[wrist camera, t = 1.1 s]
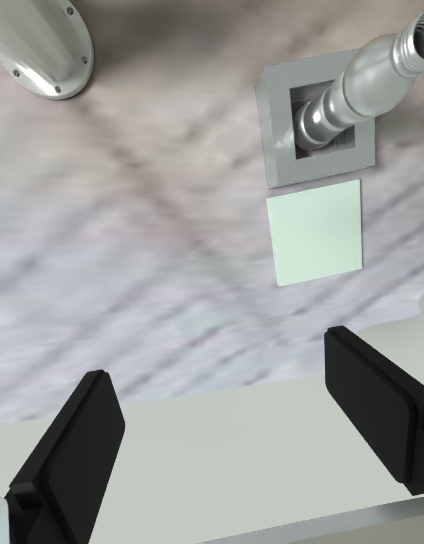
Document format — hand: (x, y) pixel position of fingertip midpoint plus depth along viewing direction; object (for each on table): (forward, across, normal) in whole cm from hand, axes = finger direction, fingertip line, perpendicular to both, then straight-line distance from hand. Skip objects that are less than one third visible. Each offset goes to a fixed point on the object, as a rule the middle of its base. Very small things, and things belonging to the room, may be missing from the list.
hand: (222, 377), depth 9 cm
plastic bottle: (+32, -20, -17) cm, 41 cm away
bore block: (+32, -20, -17) cm, 41 cm away
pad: (+31, -21, 0) cm, 38 cm away
